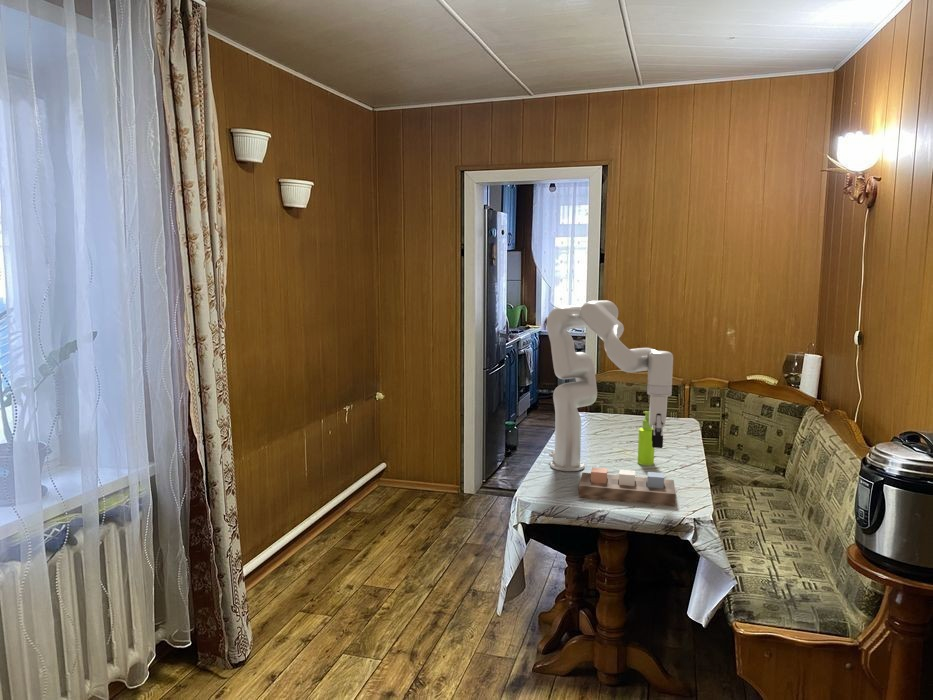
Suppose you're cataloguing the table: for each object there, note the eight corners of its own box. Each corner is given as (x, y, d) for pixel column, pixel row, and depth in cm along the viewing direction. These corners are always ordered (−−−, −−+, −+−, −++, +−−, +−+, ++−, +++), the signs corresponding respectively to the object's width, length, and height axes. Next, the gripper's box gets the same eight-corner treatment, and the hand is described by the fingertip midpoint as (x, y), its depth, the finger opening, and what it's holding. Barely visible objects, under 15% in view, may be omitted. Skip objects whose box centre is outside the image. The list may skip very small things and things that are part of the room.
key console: (578, 497, 216) (578, 485, 216) (582, 483, 230) (582, 472, 229) (675, 506, 209) (675, 494, 208) (673, 491, 222) (673, 480, 222)
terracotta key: (590, 483, 219) (591, 471, 219) (591, 478, 224) (592, 467, 223) (606, 484, 218) (606, 473, 217) (606, 480, 223) (607, 468, 222)
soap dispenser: (649, 466, 249) (651, 414, 246) (634, 462, 254) (636, 411, 252) (659, 464, 252) (661, 412, 250) (644, 459, 258) (646, 409, 255)
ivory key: (618, 486, 217) (619, 474, 216) (619, 481, 222) (619, 469, 221) (634, 487, 216) (635, 475, 215) (634, 482, 220) (635, 470, 220)
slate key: (647, 488, 215) (647, 476, 214) (647, 483, 219) (647, 471, 219) (663, 489, 213) (664, 477, 213) (663, 484, 218) (663, 473, 218)
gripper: (647, 384, 221) (644, 437, 224) (647, 394, 205) (645, 451, 207) (670, 385, 220) (668, 438, 222) (672, 395, 203) (670, 452, 205)
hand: (657, 444), depth 215 cm, fingers open, 6 cm apart
